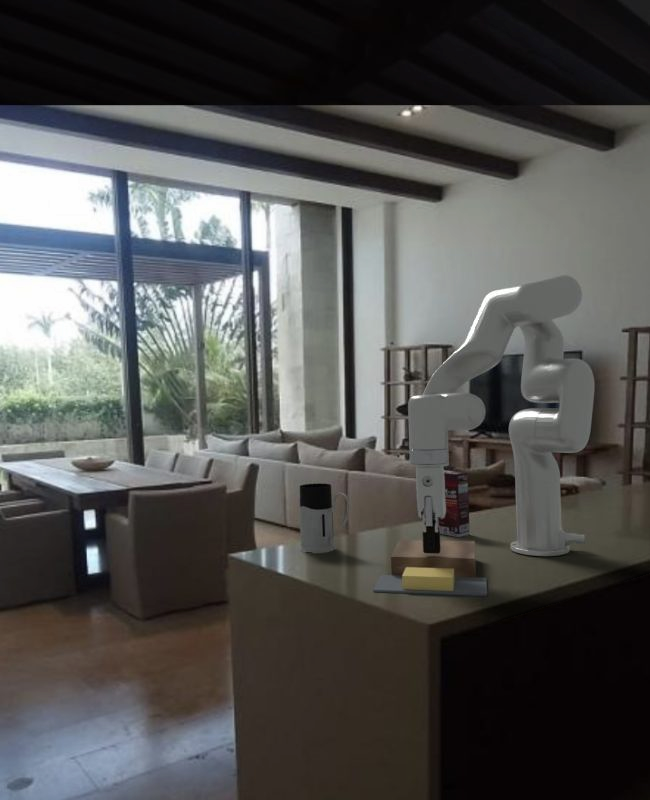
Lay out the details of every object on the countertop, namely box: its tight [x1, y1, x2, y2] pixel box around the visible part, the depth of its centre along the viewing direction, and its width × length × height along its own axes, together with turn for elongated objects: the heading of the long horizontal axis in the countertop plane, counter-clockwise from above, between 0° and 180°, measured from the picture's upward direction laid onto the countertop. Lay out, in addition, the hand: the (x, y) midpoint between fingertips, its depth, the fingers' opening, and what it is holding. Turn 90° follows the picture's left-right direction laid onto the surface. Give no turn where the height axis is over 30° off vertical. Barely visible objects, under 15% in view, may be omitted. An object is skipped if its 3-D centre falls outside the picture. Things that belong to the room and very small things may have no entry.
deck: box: [390, 539, 476, 578], centre depth 131 cm, size 16×15×4 cm
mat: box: [373, 574, 488, 597], centre depth 119 cm, size 20×10×1 cm, turn 77°
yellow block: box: [402, 567, 455, 591], centre depth 118 cm, size 9×6×2 cm, turn 76°
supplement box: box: [439, 469, 471, 538], centre depth 163 cm, size 9×5×16 cm, turn 41°
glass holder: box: [298, 482, 351, 554], centre depth 150 cm, size 9×14×15 cm, turn 50°
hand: (431, 552), depth 125 cm, fingers closed
